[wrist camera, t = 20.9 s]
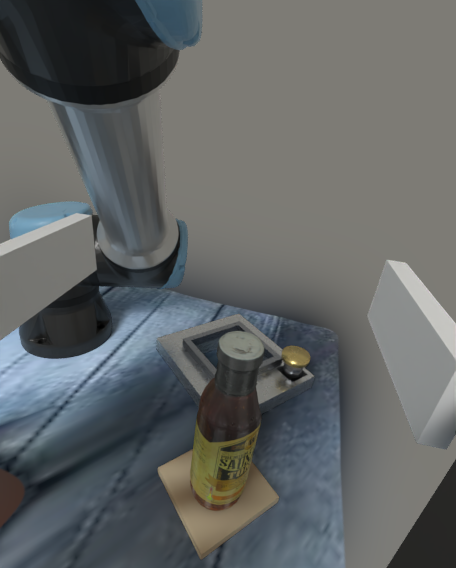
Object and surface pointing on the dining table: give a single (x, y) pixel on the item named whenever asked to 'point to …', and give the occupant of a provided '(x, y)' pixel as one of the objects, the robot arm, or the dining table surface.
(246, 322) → the housing
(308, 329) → the dining table surface
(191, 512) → the cork pad
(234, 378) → the sauce bottle
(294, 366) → the plunger
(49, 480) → the dining table surface
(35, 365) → the dining table surface
